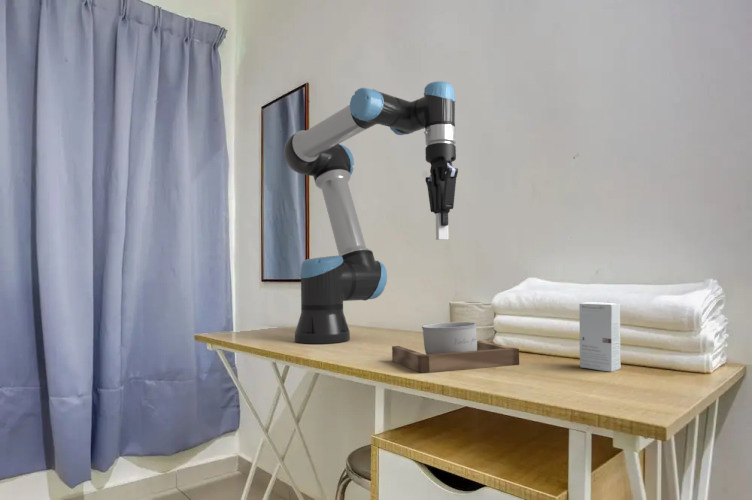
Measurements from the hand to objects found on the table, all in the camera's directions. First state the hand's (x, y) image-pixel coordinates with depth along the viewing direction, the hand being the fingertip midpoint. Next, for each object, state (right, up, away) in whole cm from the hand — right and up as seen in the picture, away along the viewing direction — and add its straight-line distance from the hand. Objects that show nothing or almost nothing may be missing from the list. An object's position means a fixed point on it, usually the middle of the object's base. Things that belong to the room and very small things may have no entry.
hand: (442, 239), depth 120 cm
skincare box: (+25, -25, -30) cm, 47 cm away
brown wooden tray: (-1, -25, -23) cm, 34 cm away
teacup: (-1, -26, -22) cm, 34 cm away
